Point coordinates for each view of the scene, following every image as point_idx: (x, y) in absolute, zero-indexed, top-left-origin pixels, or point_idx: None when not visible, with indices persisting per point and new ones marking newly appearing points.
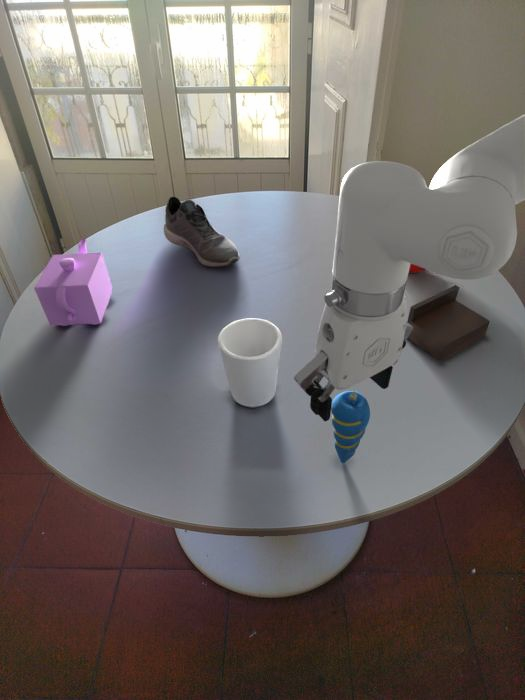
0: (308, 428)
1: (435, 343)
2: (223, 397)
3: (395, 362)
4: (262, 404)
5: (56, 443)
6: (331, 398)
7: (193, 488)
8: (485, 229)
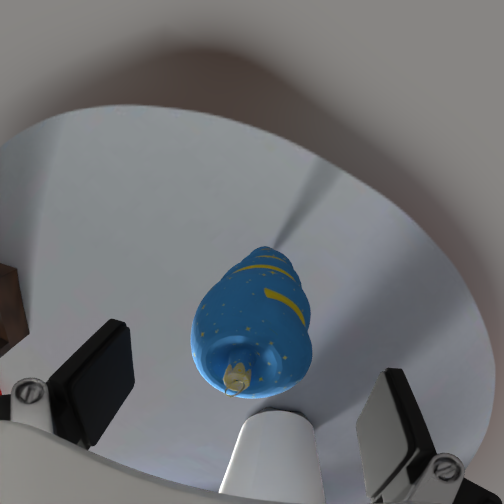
0: None
1: (2, 294)
2: None
3: (31, 381)
4: (290, 413)
5: (463, 458)
6: (407, 451)
7: (454, 362)
8: None
